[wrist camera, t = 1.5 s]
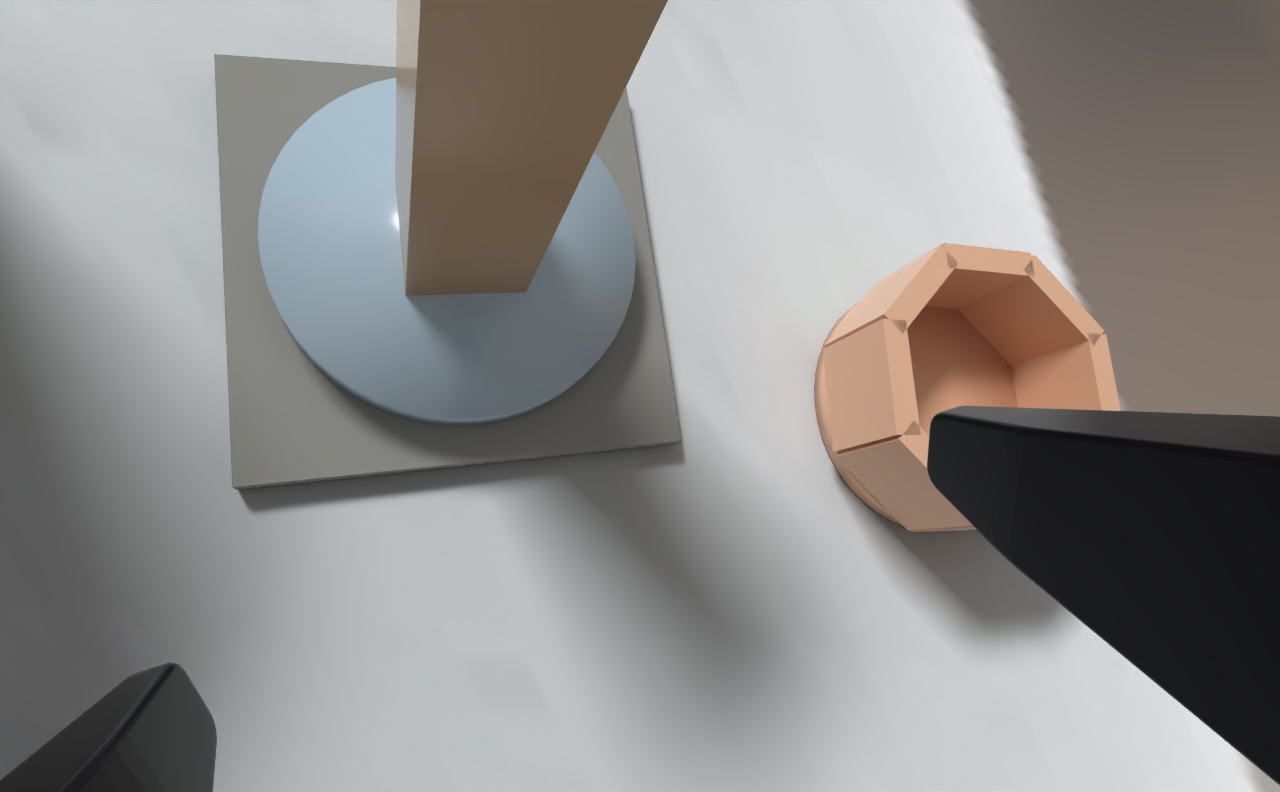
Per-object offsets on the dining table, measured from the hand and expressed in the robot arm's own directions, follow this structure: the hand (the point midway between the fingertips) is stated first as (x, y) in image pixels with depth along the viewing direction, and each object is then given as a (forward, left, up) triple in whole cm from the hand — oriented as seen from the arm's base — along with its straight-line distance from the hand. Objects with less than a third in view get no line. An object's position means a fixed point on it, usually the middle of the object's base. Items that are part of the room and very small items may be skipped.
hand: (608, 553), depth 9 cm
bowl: (+5, -15, -13) cm, 20 cm away
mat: (+9, +1, -13) cm, 15 cm away
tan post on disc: (+9, +1, -12) cm, 15 cm away
